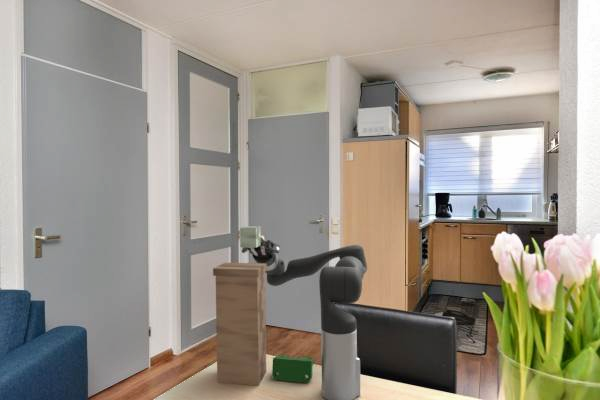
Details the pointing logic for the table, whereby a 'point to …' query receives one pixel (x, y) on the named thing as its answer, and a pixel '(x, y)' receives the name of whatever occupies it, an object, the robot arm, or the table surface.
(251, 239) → the mint and tan block
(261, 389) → the table surface
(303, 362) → the green box
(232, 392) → the table surface
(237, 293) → the tool tower
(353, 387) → the robot arm
